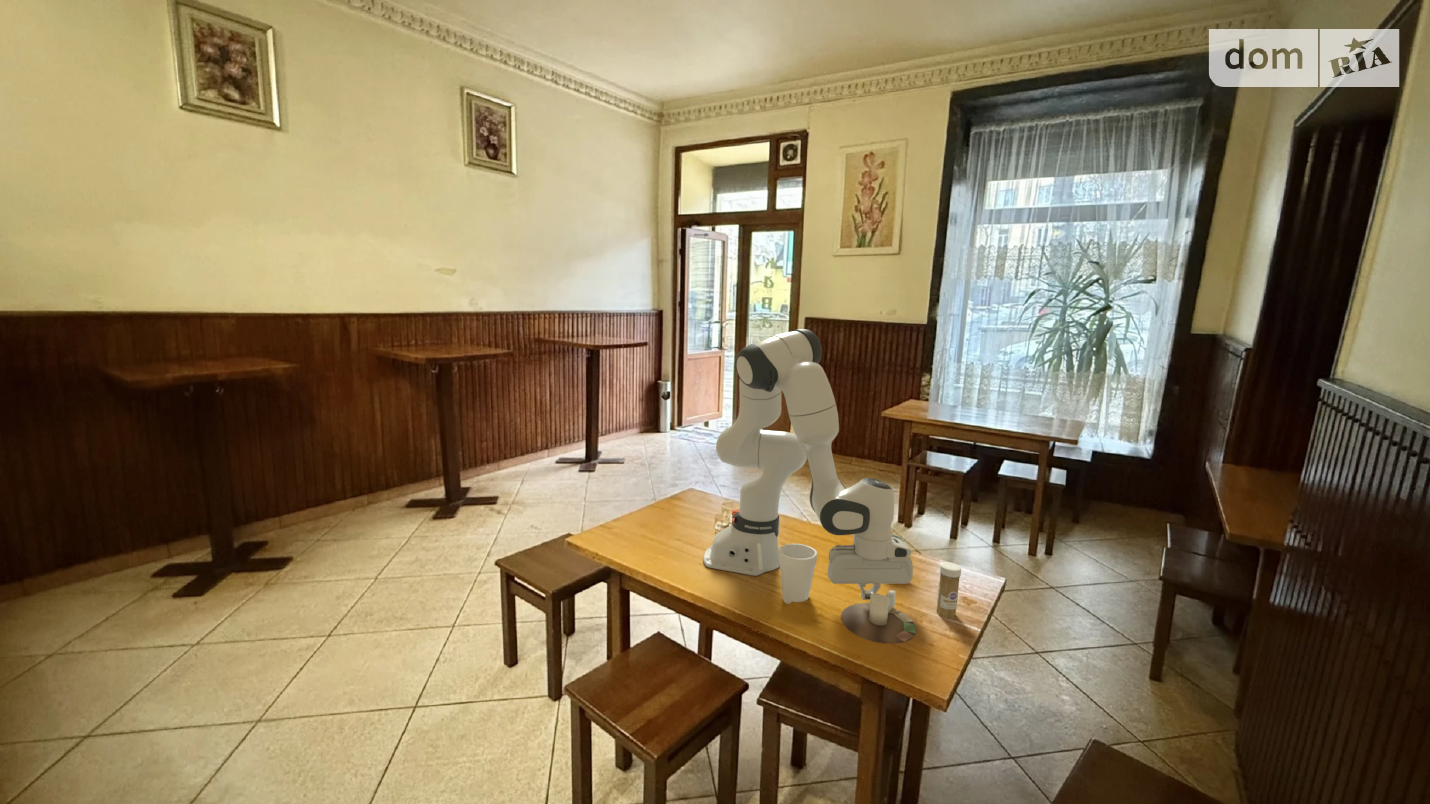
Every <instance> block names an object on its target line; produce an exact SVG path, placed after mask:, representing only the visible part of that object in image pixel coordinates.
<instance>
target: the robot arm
mask: <svg viewBox="0 0 1430 804" xmlns="http://www.w3.org/2000/svg"><path fill="white" fill-rule="evenodd" d="M822 356H823V346H822V344H821V341H820V339H819V338H818V336H817V334H816V333H814V332H813V331H812V330H810V329H805V328H801V329H800V328H797V329H794V330H791V331H787V332H783V333H778V334H774V335H771V336H770V337H768V338H764V339H763V340H760V341H757V342H756V343H754V344H753V343H752V344H749V345H747V346H745V347H743V348H742V349H741V350H740V351H738V352H737V355H736V358H735V370H736V373H737V376H738V378H739V383H738V384H739V386H738V387H739V410H738V416H737V417H736V420H735V421H734V423H732V425H730V426H729V427H728V428H726V429H724V430H723V431H722V432H721V433H720V434H719V436H718V437H717V441H716V445H715V447H716V448H715V450H716V454H717V457H718V458H719V460H720V461H721V463H725V464H728V465H731V466H735V467H739V468H749V469H750V468H751V469H759V470H762V475H760V476H758V477H754V478H752V479H750V480H748V481H746V482H744V484H743V485H742V486H741V488H740V493H739V510H738V509H735V508H734V509H733V510H732V512H731V516H732V517H731V518H732V519H731V524H730V525H729V526H727V527H724V529H722V530H720V531H718V533H717V534H716V535H715V537H714V539H713V542H712V544H711V546H709V547H708V548H707V549H706V550H705V552H704V554H703V559H702V560H703V564H704V566H706V567H707V568H710V569H715V570H721V571H726V572H727V571H728V572H732V573H738V574H743V575H748V576H760V575H761V574H764V573H767V572H771V571H774V570H777V569H779V568H780V561H779V549H780V547H779V538H778V537H779V534H780V525H781V524H780V515H779V506H780V505H779V504H780V497H781V492H782V488H783V487H784V484H785V483H786V482H787V480H788V479H789V478H790V476H792V475H793V474H794V473H795V472H797V471H799V470H800V469H801V468H802V467H803V466H804V465H805V463H806V462H807V464H808V468H809V471H810V472H809V473H810V477H811V486H810V487H811V488H810V492H809V504H810V507H811V509H812V511H814V513H815V515H816V516H817V519H818V520H819V522H820V525H821V526H822V527H823V529H824V531H826V532H827V533H829V534H831V535H834V536H849V535H853V540H852V542H853V543H852V544H844V545H842V544H836V545H835V546H833V547H831V548H830V549H829V552H828V560H829V561H828V566H827V567H828V568H827V574H826V575H827V577H828V579H829V581H830V582H831V583H832V584H836V585H843V584H844V585H845V584H846V585H847V584H849V585H850V584H851V585H855V584H856V585H857V586H858V587H859V590H860V598H861V599H862V600H865V601H867V600H868V601H870V595H871V594H872V593H873V592H874V593H878V591H879V590H880V589H881V585H883V584H886V585H887V584H896V585H897V584H898V585H899V584H902V585H903V584H904V585H905V584H909V583H910V582H912V580H913V576H914V571H913V569H914V566H913V561H912V559H911V555H912V550H911V548H910V547H909V546H908V544H906V542H905V541H904V542H905V543H904V542H903V541H902V540H900V539H898V538H895V537H892V535H893V532H892V524H893V521H894V517H895V494H894V490H893V488H892V487H891V486H890V485H889V484H887V483H886V482H885V481H882V480H881V479H877V478H872V477H863V478H862V479H861V480H860V481H858V482H857V483H855V484H854V485H851V486H849V487H846V486H845V485H844V483H843V482H842V481H841V480H840V479H839V476H838V473H837V470H836V466H835V461H834V456H833V452H832V443H833V441H834V440H835V439H836V437H837V436H838V434H839V432H840V424H839V423H840V422H839V412H838V407H837V403H836V399H835V396H834V392H833V389H832V387H831V384H830V382H829V378H828V377H827V374H826V372H825V370H824V368H823V367H822V366H821V365H820V364H819V363H820V362H821V360H822ZM782 393H783V394H782ZM782 395H783V396H784V399H785V405H786V407H787V408H786V409H787V413H788V417H789V420H790V424H791V427H792V429H793V432H794V433H792V432H788V431H781V430H772V429H771V430H769V429H765V428H767V427H769V426H771V425H773V424H774V423H775V422H776V421H778V419H779V418H780V417H781V415H782ZM867 584H868V585H869V584H870V585H872V586H871V587H870V589H865V588H866V585H867Z"/></svg>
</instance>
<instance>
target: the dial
mask: <svg viewBox="0 0 1430 804" xmlns="http://www.w3.org/2000/svg"><path fill="white" fill-rule="evenodd" d="M870 605H871V603H870V602H863V603H862V602H861V603H860V602H859V603H855V604H851V605H849V606H847V607H845V608H844V609H843V610H841V614H840V620H841V623H842V625H843V626H844V627H845V628H846V629H847V630H848V631H849V632H850V633H852V634H853V635H855V636H857V637H859V638H861V639H864V640H867V641H871V642H873V643H878V644H890V645H891V644H893V645H895V644H902V643H906V642H908V641H911V640H912V639H913V638H914V637H915V636H916V634H917V632H918V631H917V625H916V623H915V622H914V620H913V619H912V618H911V617H909V615H907V614H905V612H902V611H901V610H899V609H896V608H895V607H893V608H892V609H891V610H890V612H889V613H888V618H887V624H886V625H883V626H879V625H875V624H873V623H871V622H870V620H869V617H870Z"/></svg>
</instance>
